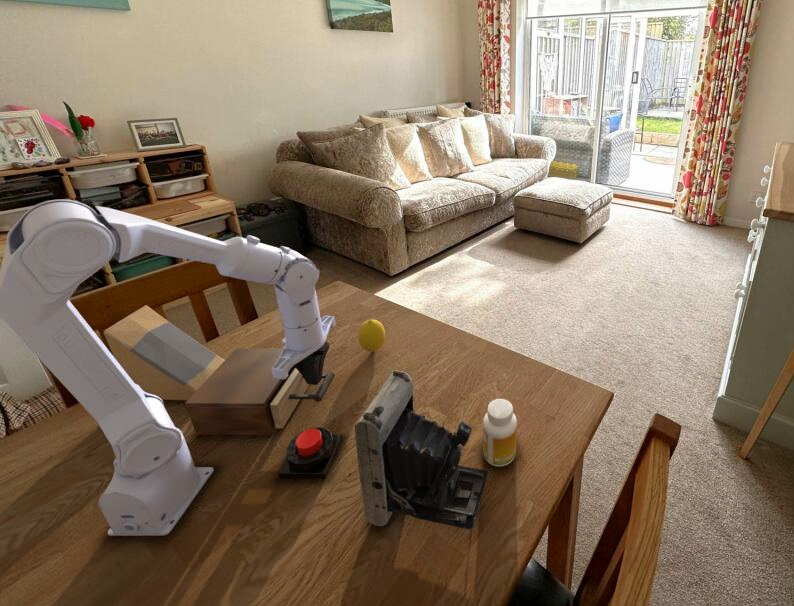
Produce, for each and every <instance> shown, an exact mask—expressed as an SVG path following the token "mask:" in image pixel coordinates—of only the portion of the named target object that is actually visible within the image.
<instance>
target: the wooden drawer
mask: <svg viewBox="0 0 794 606" xmlns="http://www.w3.org/2000/svg"><path fill="white" fill-rule="evenodd" d="M335 376H336V375H335V372H333V371H328V372H327V373H322V379H321V380H322V382H321V384H320V385H319V387H318V389H317V391H316V393H315V394H312V393H309V394H307V393H306V394H305V392H306V391H307V389H308V387H309V386H310V384H307V383H306V381H305V379H304V378H303V376H302V375H301V373H300V372H299V371H298V370H297V369H296V368H295V367H294V366H293V367H292V368H291V369H290V371H289V372H288V377H287V378H286V379H283V381H282V382H281V384H280V385H279V387H278V388H277V389H276V391H275V392H274V394H273V395H272V397H271V398H270V399H269V401H268V402H267V406H268V410H269V414H270V418H271V421H272V419H274V423H275V427H276V429H284V427H285V426H286V424H287V422H288V421H289V419H290V417H291V415H292V414H293V412H294V411H295V409H296V407H297V406H298V404H299V402H300V401H301V400H314V401H315V402H317V403H319V402H322V401H323V398H324V397H325V395H326V393H327V391H328V390H329V388H330V385H331V383H332V382H333V380H334V379H335Z"/></svg>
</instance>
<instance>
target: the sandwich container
mask: <svg viewBox="0 0 794 606" xmlns="http://www.w3.org/2000/svg"><path fill="white" fill-rule="evenodd" d="M103 335H104V337H105V339H106V342H107V344H108V346H109V349H110V351H111V354H112V355H113V357H114V358H115V359H116V360H117V362H118V363H119V364H120V365H121V367H122V368H123V369H124V370H125V372H126V373H127V374H128V376H129V377H130V378H131V379H132V381H133V382H134V383H135V384H137V385H139V386H140V388H141V389H142V390H143V391H144V392H146V393H148V394H152V395H156V396H158V397H159V398H161V399H162V401H163V400H166V401H187V400H188V399H189V398H190V397H191V396H192V395H193V394H194V393H195V392H196V391H197V390H198V389H199V388H200V387H201V385H202V384H203V383H204V382H205V381H206V380H207V379H208V378H209V377H210V376H211V375H212V374H213V373H214V372H215V370H216V369H217V368H218V367H219V366H220V365H221V364H222V363H223V362H224V361H225V360H226V359H224V358H222V357H220V356H219V355H217V354H216V353H215V352H213V351H212V350H210V348H209V349H208V348H207V347H205V346H204V345H203V344H202V343H200V342H198V341H197V340H196V339H194V338H193V337H192V336H190V335H188V334H187V333H185V332H184V331H183V330H181V329H180V328H178V327H177V326H175V325H174V324H173V323H171V322H170V321H169V320H167V319H166V318H164V316H161V315H160V314H159V313H157V312H156V311H155V310H154V309H152V308H151V307H149V305H144V306H142V307H141V308H139V309H137V310H135V311H134V312H132V313H131V314H129V315H127V316H126V317H124V318H122V319H121V320H119V321H117V322H116V323H114V324H113V325H111V326H110V327H108V328H106V329H104V330H103Z"/></svg>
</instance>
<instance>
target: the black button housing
mask: <svg viewBox="0 0 794 606" xmlns="http://www.w3.org/2000/svg"><path fill="white" fill-rule="evenodd" d="M310 429H317V430H319V431H320V432H321V436H322V441H323V443H322V446H321V448H320V449H319V450H318V451H317V452H316V453H315V454H312V455H310V456H301V455H299V454H298V451H297V447H296V439H297V437H298V436H299V435H300V434H301V433H302V432H304V431H306V430H307V429H305V430H303V431H301V432H300V433H298V434H297V435H296V436H295V437H293V438H292V439H291V440H290V443H289V444H288V446H287V447H286V450H285V451H286V458H285V461H284V462H283V464H282V466H281V467H280V470H279V471H278V473H277V474H278V478H279V479H281V480H283V479H284V480H286V479H289V480H291V479H292V480H294V479H299V480H301V479H304V480H305V479H308V480H309V479H310V480H311V479H313V480H314V479H315V480H316V479H317V480H318V479H319V480H321V479H323V480H324V479H327V477H328V474H329V472H330V470H331V469H332V465H333V463H334V461H335V459H336V456H337V453H338V451H339V449H340V447H341V444H342V441H343V439H344V438H343V434H341V433H332V431H330V430H329V429H327V428H325V427H323V426H322V427H317V426H315V427H311V428H310Z"/></svg>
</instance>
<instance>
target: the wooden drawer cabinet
mask: <svg viewBox="0 0 794 606" xmlns="http://www.w3.org/2000/svg"><path fill="white" fill-rule="evenodd" d="M282 350H283V348H258V347H257V348H252V347H251V348H250V347H247V348H246V347H245V348H243V347H241V348H240V347H237V348H235V349H234V350H233V351H232V352H231V353H230V354H229V355H228V356H227V358H225V359H224V360H225V361H224V362H223V363H222V364H221V365H220V366H219V367H218V368H217V369H216V370H215V372H214V373H213V374H212V375H211V376H210V377H209V378H208V379H207V380H206V381H205V382H204V383H203V384H202V385H201V387H200V388H199V389H198V390H197V391H196V392H195V393H194V394H193V395H192V396H191V397H190V398H189V399H188V400H185V403H184V405H185V408H186V410H187V413H188V416H189V419H190V422H191V424H192V428H193V430H194V432H195V436H272V435H273V434H274V432H275V431H276V430H277V428H276V427H275V423H274V419H272V421H271V418H270V414H269V410H268V406H267V402H268V401H269V399H270V398H271V397H272V395H273V394H274V392H275V391H276V389H277V388H278V387H279V385H280V384H281V382H282V381H283V379H277V378H273V374H272V370H271V368H272V367H273V366H274V365H275V364H276V362H277V361H278V359H279V357H280V355H281V352H282ZM289 371H290V370H289ZM289 371H288V372H289Z"/></svg>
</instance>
